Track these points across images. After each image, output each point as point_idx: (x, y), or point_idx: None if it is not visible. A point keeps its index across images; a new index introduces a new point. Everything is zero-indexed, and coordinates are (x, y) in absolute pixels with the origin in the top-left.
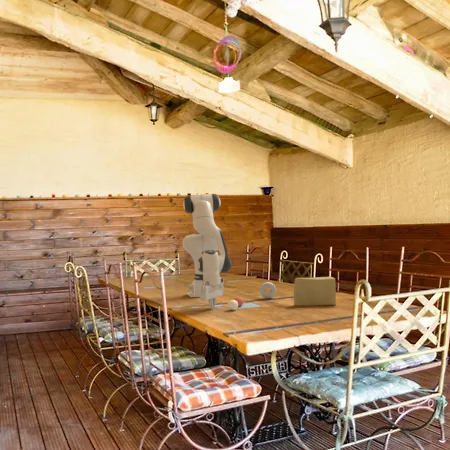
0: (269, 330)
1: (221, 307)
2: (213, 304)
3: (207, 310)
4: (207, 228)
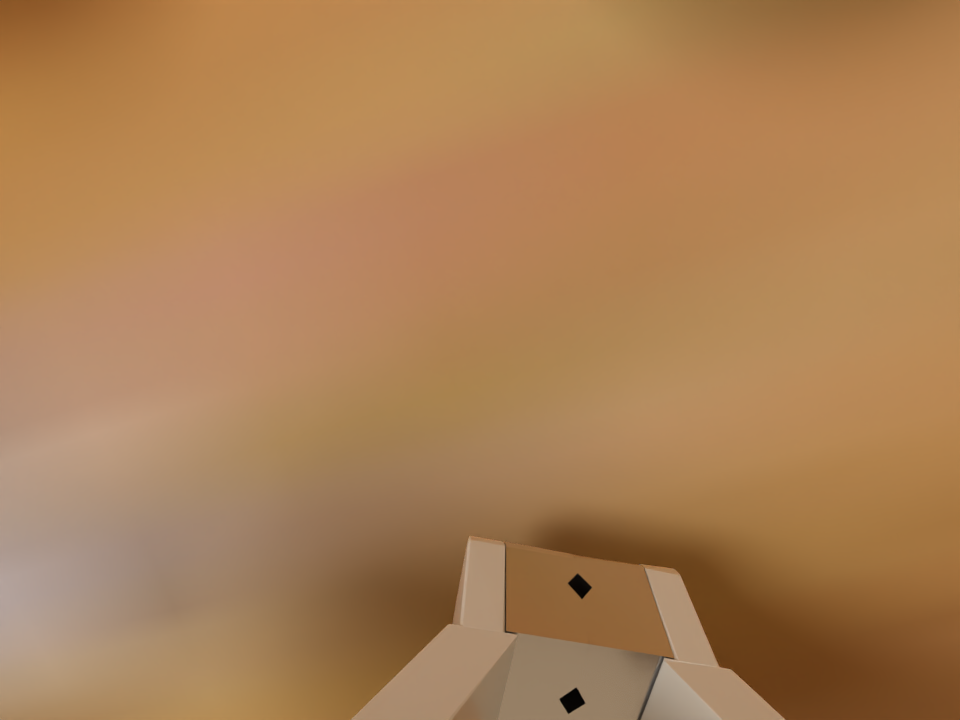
0: None
1: (103, 363)
2: (601, 610)
3: None
4: None
